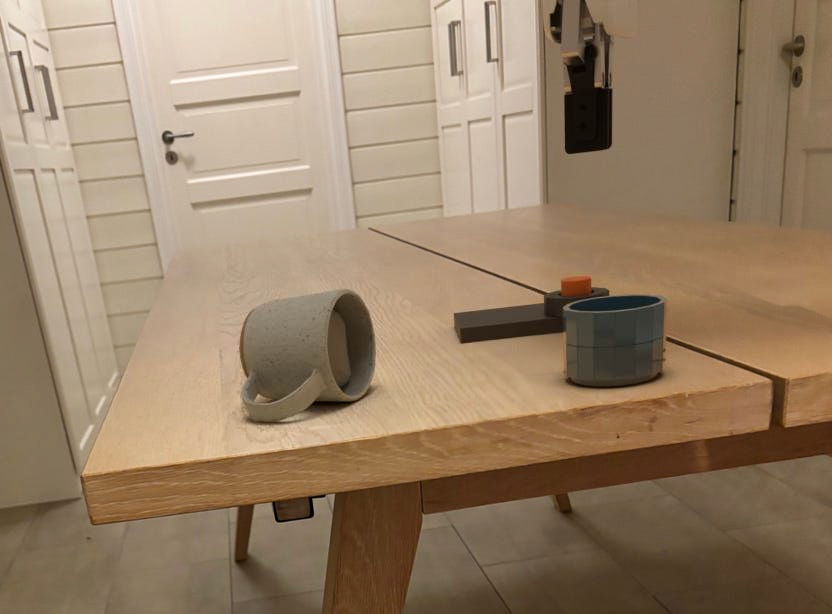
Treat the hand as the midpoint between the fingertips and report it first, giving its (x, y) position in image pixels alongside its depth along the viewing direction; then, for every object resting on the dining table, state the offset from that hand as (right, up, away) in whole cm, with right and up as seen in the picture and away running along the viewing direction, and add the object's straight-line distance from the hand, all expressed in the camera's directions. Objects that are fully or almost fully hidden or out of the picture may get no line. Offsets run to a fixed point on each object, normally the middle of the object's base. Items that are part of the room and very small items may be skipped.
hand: (588, 151), depth 73 cm
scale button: (+2, -7, +12) cm, 14 cm away
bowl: (+1, -18, -5) cm, 19 cm away
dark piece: (-2, -8, +16) cm, 18 cm away
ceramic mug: (-21, -20, -1) cm, 29 cm away
